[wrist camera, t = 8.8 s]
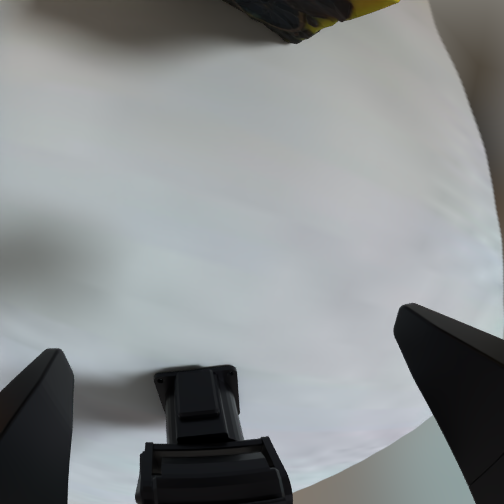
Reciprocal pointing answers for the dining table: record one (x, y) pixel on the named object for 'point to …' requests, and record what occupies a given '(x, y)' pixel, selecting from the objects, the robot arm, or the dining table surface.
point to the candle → (305, 14)
